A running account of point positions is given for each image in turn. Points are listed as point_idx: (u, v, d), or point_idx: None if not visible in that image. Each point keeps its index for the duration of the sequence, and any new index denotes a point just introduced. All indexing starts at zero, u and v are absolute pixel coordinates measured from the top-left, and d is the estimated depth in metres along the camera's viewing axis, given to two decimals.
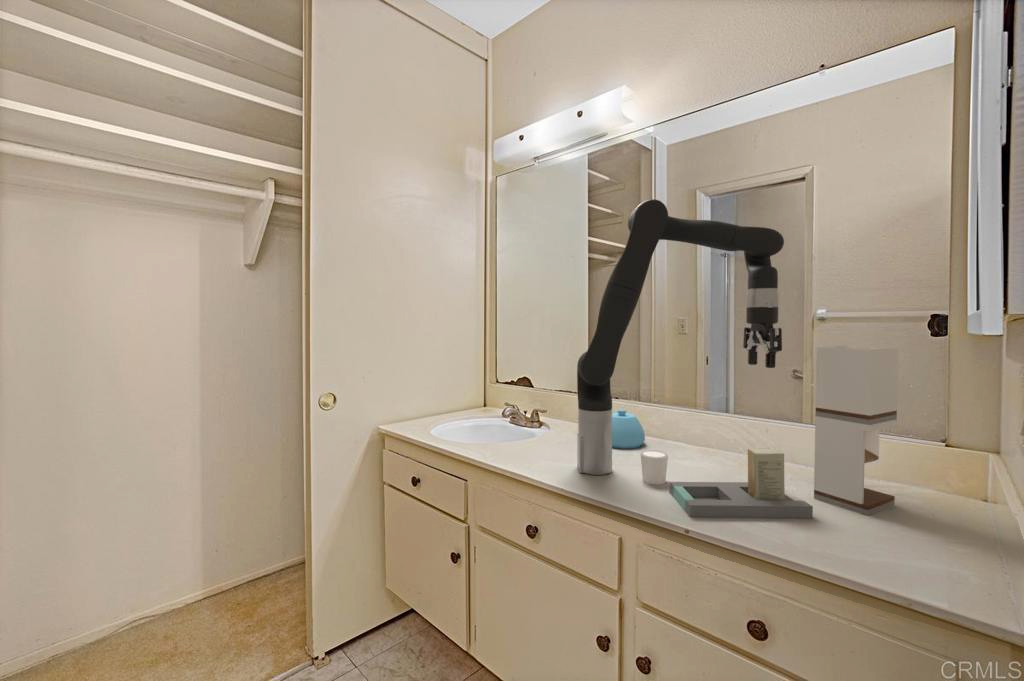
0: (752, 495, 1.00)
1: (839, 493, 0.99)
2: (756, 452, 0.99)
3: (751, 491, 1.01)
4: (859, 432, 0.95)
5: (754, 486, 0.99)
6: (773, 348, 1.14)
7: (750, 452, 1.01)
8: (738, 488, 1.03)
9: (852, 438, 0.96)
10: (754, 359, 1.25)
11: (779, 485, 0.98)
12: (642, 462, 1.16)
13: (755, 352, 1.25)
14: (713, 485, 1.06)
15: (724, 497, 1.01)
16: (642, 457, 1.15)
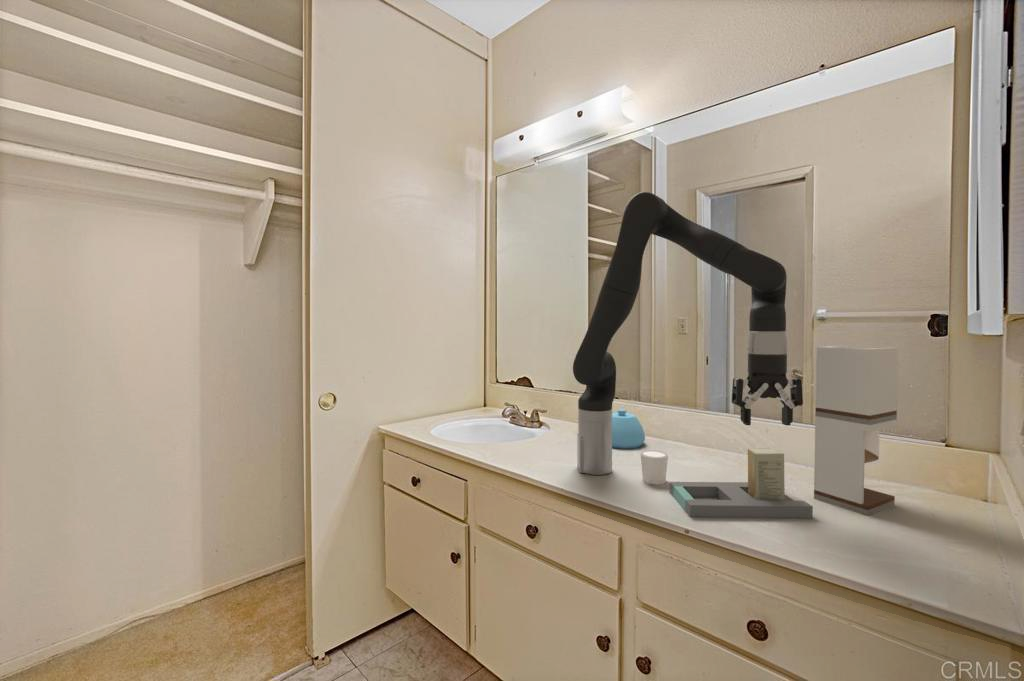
0: (752, 495, 1.00)
1: (839, 493, 0.99)
2: (756, 452, 0.99)
3: (751, 491, 1.01)
4: (859, 432, 0.95)
5: (754, 486, 0.99)
6: None
7: (750, 452, 1.01)
8: (738, 488, 1.03)
9: (852, 438, 0.96)
10: None
11: (779, 485, 0.98)
12: (642, 462, 1.16)
13: None
14: (713, 485, 1.06)
15: (724, 497, 1.01)
16: (642, 457, 1.15)
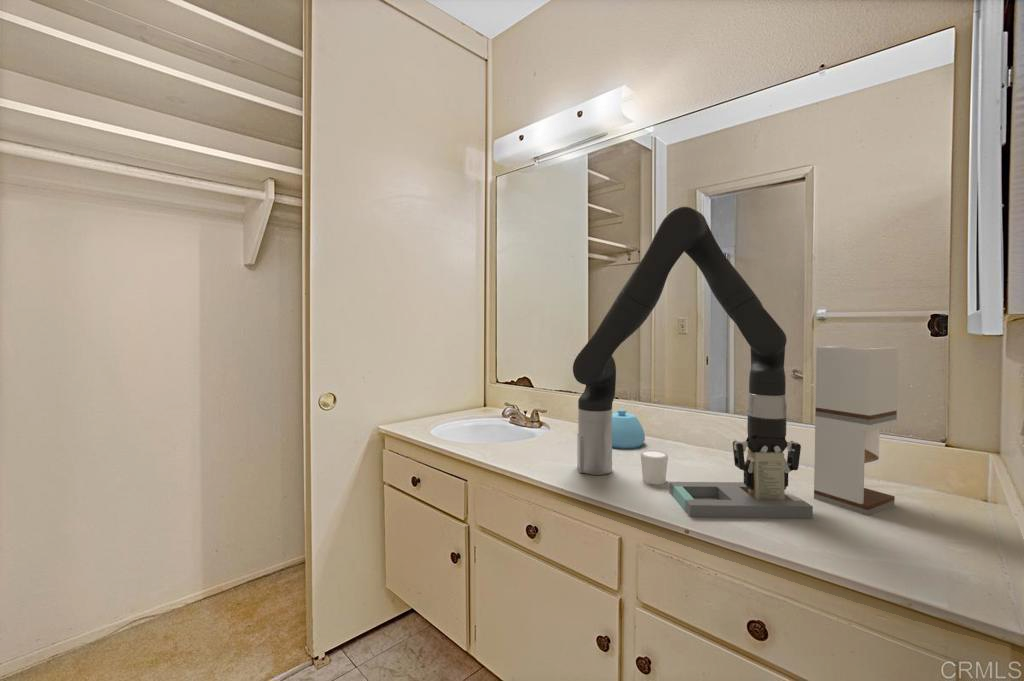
0: (752, 495, 1.00)
1: (839, 493, 0.99)
2: (756, 452, 0.99)
3: (751, 491, 1.01)
4: (859, 432, 0.95)
5: (754, 486, 0.99)
6: None
7: (750, 452, 1.01)
8: (738, 488, 1.03)
9: (852, 438, 0.96)
10: None
11: (779, 485, 0.98)
12: (642, 462, 1.16)
13: None
14: (713, 485, 1.06)
15: (724, 497, 1.01)
16: (642, 457, 1.15)
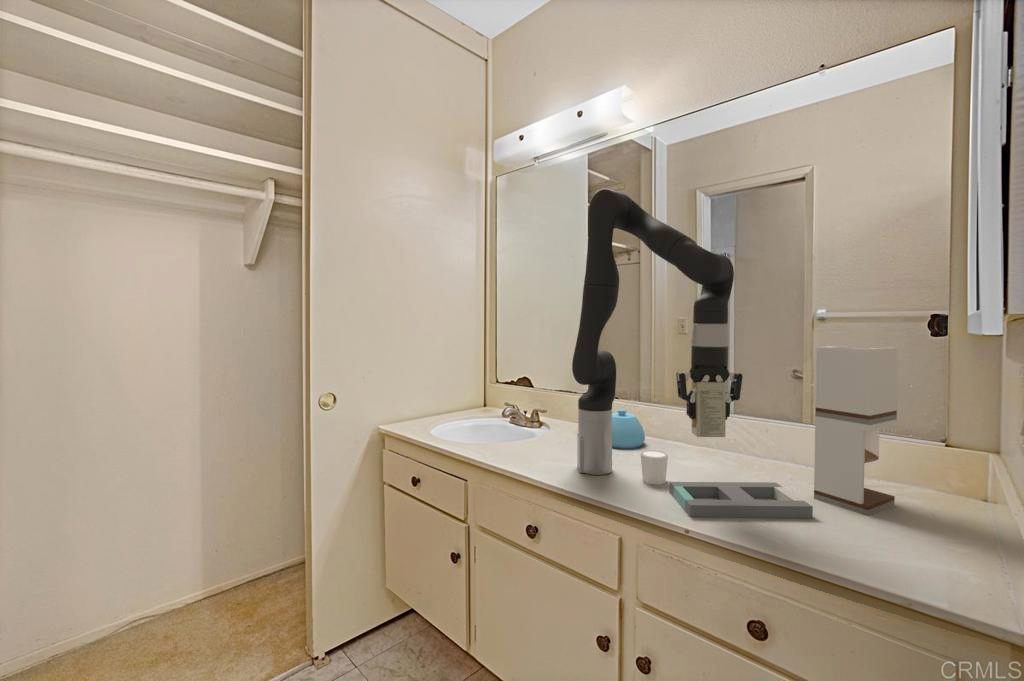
0: (694, 425, 1.00)
1: (839, 493, 0.99)
2: (698, 382, 0.99)
3: (693, 422, 1.01)
4: (859, 432, 0.95)
5: (696, 416, 0.99)
6: None
7: (693, 383, 1.01)
8: (738, 488, 1.03)
9: (852, 438, 0.96)
10: None
11: (720, 415, 0.98)
12: (642, 462, 1.16)
13: None
14: (713, 485, 1.06)
15: (724, 497, 1.01)
16: (642, 457, 1.15)
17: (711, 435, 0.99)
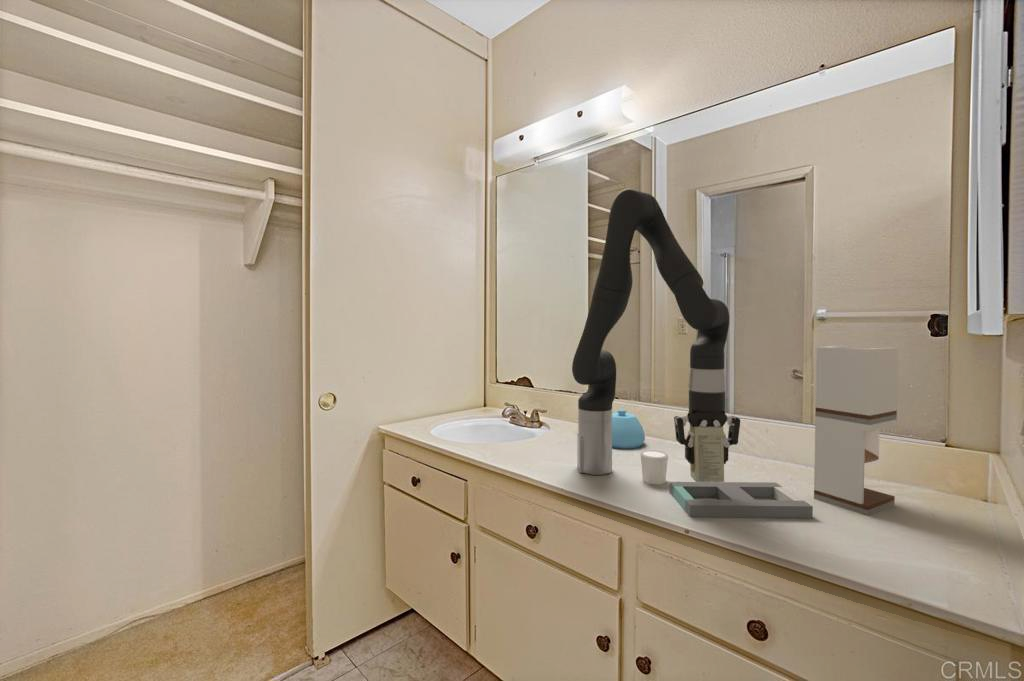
0: (693, 470, 1.00)
1: (839, 493, 0.99)
2: None
3: (692, 466, 1.01)
4: (859, 432, 0.95)
5: (694, 461, 0.99)
6: None
7: (691, 427, 1.01)
8: (738, 488, 1.03)
9: (852, 438, 0.96)
10: None
11: (718, 459, 0.98)
12: (642, 462, 1.16)
13: None
14: (713, 485, 1.06)
15: (724, 497, 1.01)
16: (642, 457, 1.15)
17: (710, 480, 0.98)
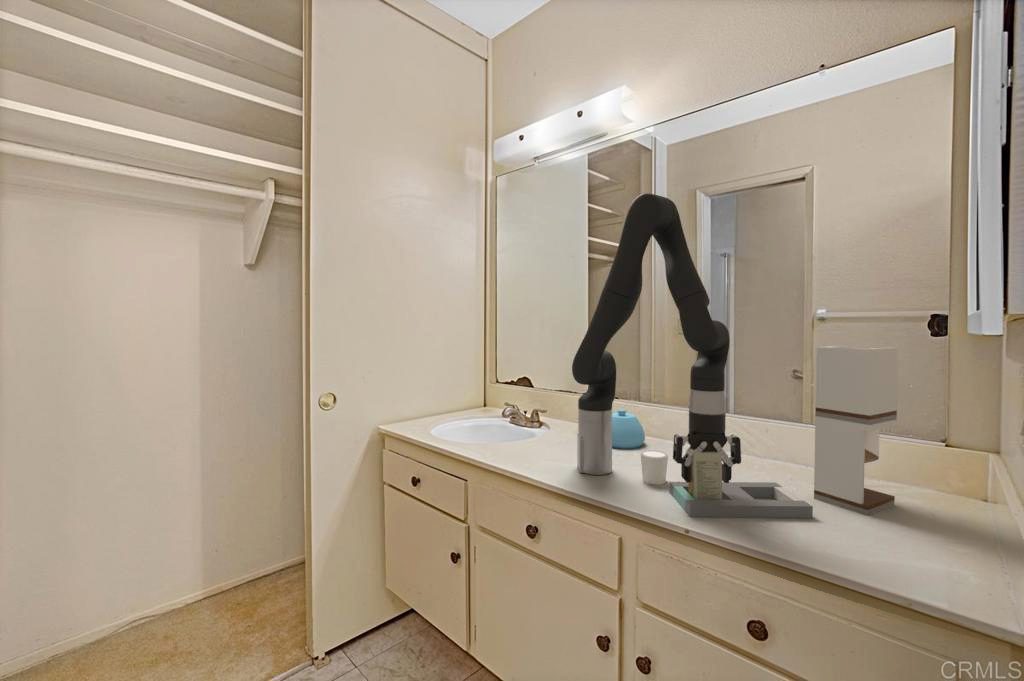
0: (691, 495, 1.01)
1: (839, 493, 0.99)
2: None
3: (690, 491, 1.01)
4: (859, 432, 0.95)
5: (693, 486, 0.99)
6: None
7: None
8: (738, 488, 1.03)
9: (852, 438, 0.96)
10: None
11: (717, 485, 0.99)
12: (642, 462, 1.16)
13: None
14: None
15: (724, 497, 1.01)
16: (642, 457, 1.15)
17: None
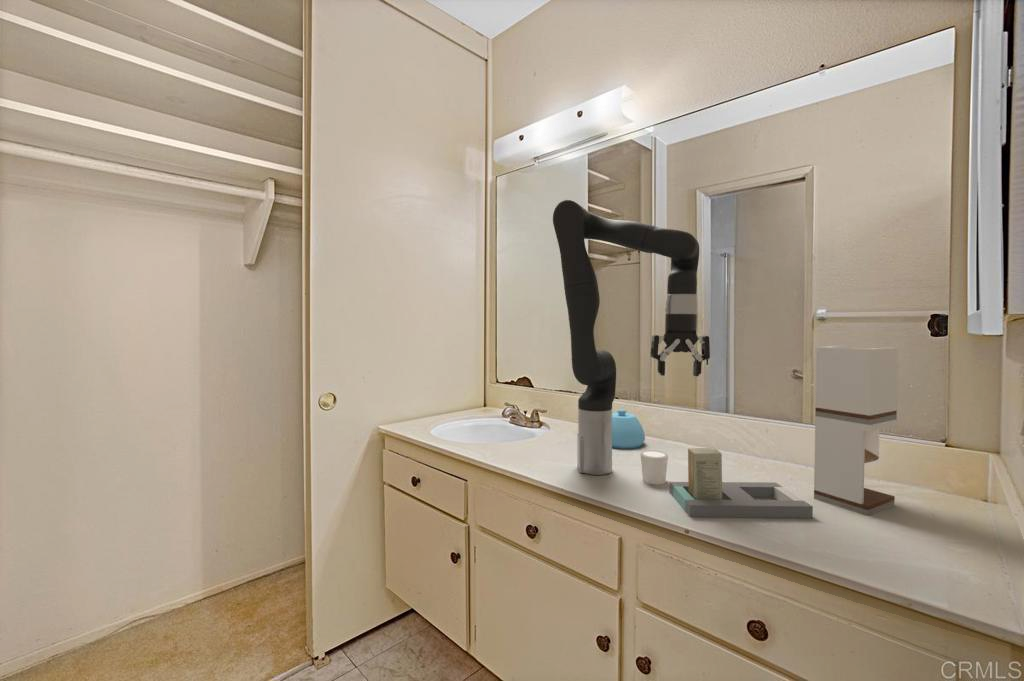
0: (691, 495, 1.01)
1: (839, 493, 0.99)
2: (695, 452, 0.99)
3: (690, 491, 1.01)
4: (859, 432, 0.95)
5: (693, 486, 0.99)
6: None
7: (689, 452, 1.01)
8: (738, 488, 1.03)
9: (852, 438, 0.96)
10: None
11: (717, 485, 0.99)
12: (642, 462, 1.16)
13: None
14: None
15: (724, 497, 1.01)
16: (642, 457, 1.15)
17: None
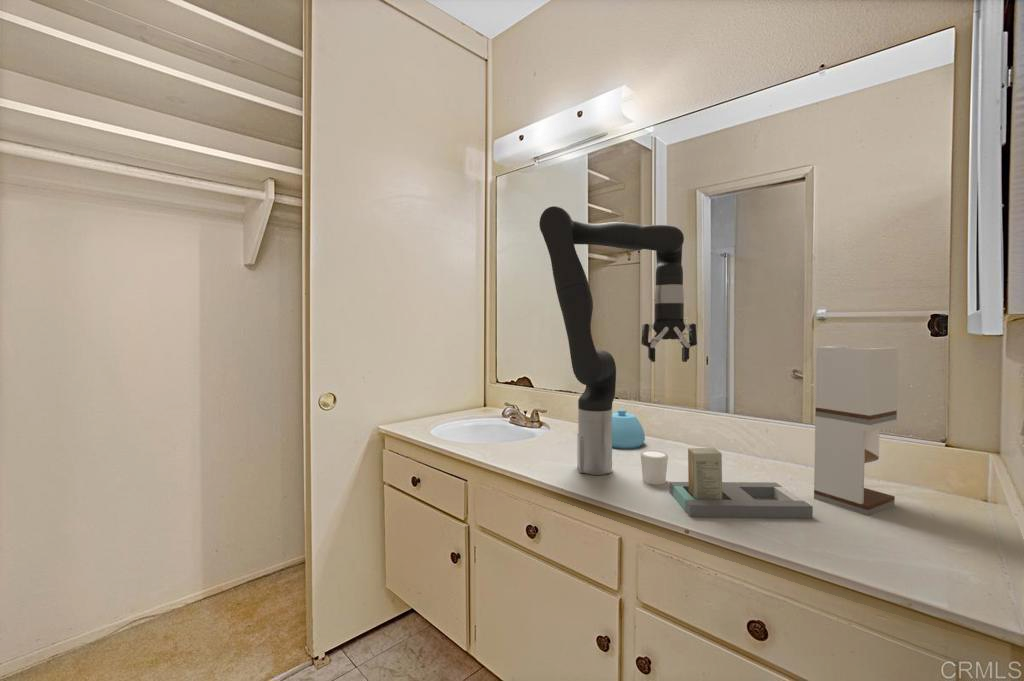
0: (691, 495, 1.01)
1: (839, 493, 0.99)
2: (695, 452, 0.99)
3: (690, 491, 1.01)
4: (859, 432, 0.95)
5: (693, 486, 0.99)
6: None
7: (689, 452, 1.01)
8: (738, 488, 1.03)
9: (852, 438, 0.96)
10: None
11: (717, 485, 0.99)
12: (642, 462, 1.16)
13: None
14: None
15: (724, 497, 1.01)
16: (642, 457, 1.15)
17: None
